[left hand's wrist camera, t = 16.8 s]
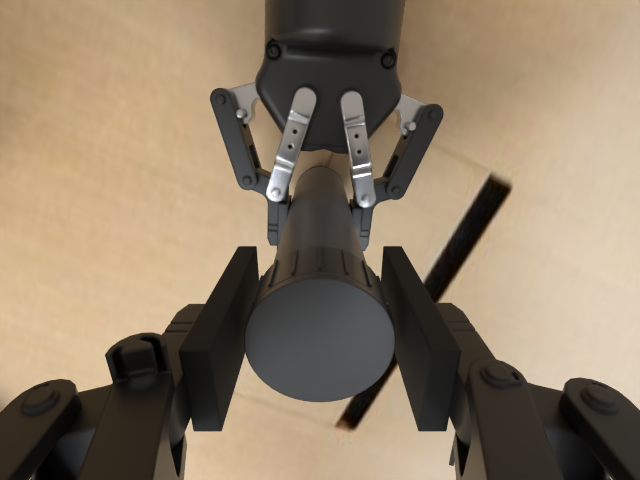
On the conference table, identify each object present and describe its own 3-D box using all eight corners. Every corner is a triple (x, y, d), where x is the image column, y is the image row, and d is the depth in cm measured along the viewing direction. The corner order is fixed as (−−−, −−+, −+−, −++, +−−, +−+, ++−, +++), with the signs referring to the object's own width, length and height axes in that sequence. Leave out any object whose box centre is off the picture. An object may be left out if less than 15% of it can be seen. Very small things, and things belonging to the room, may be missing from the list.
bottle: (352, 196, 29) (407, 347, 11) (314, 222, 30) (305, 401, 12) (326, 156, 28) (337, 253, 10) (286, 184, 29) (229, 321, 11)
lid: (328, 216, 11) (330, 244, 9) (409, 310, 13) (428, 354, 10) (228, 295, 12) (208, 336, 10) (312, 374, 14) (311, 425, 12)
